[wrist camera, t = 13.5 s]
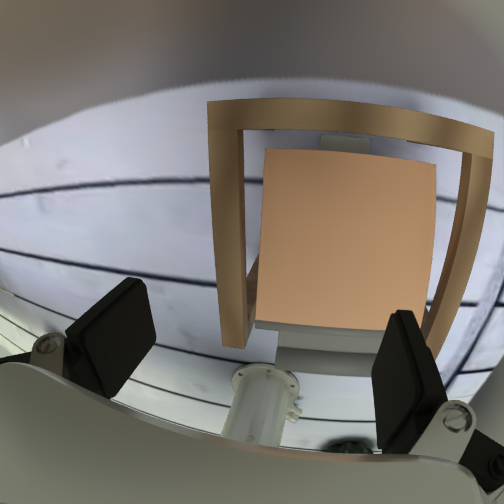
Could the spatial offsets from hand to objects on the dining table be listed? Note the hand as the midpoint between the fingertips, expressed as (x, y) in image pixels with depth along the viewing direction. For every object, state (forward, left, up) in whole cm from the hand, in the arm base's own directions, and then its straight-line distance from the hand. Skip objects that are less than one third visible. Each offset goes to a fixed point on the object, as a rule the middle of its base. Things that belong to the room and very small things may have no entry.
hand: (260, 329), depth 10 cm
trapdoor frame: (-4, -2, -26) cm, 27 cm away
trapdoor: (-6, 0, -13) cm, 14 cm away
